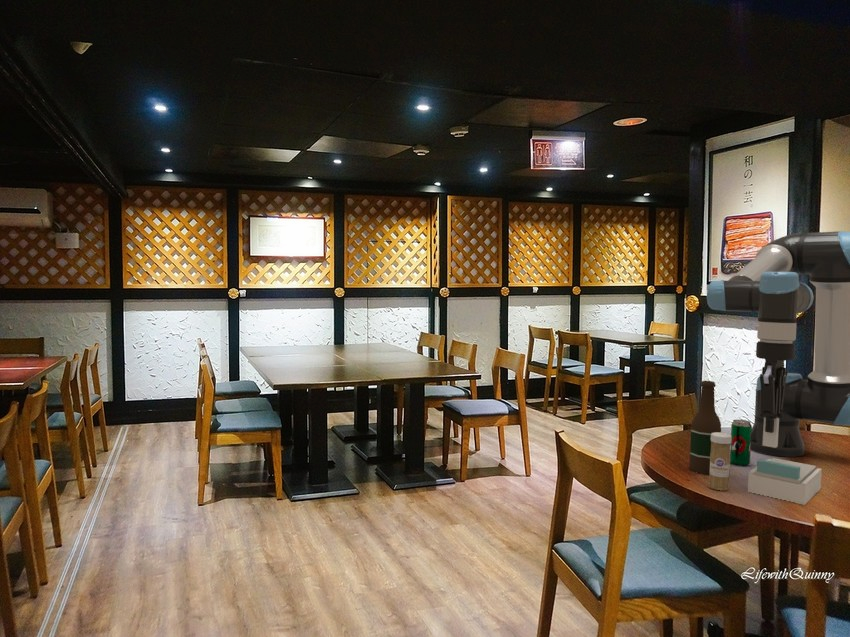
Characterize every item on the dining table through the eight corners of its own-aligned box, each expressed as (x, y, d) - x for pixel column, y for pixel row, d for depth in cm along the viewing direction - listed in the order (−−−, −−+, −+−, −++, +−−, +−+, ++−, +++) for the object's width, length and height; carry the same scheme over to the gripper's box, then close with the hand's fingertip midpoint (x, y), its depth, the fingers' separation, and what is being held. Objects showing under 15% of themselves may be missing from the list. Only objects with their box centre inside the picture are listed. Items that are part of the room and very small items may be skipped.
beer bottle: (725, 471, 168) (729, 382, 167) (712, 477, 163) (716, 385, 161) (696, 464, 174) (700, 378, 172) (683, 470, 169) (686, 380, 167)
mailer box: (767, 477, 163) (767, 458, 163) (820, 488, 155) (821, 469, 155) (747, 492, 152) (748, 472, 151) (804, 505, 144) (805, 483, 143)
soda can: (753, 466, 173) (755, 423, 172) (734, 466, 173) (736, 422, 172) (745, 461, 178) (747, 419, 177) (726, 460, 178) (728, 418, 177)
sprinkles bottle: (711, 490, 153) (713, 435, 152) (706, 484, 157) (708, 431, 156) (731, 492, 152) (734, 436, 151) (725, 485, 156) (728, 432, 155)
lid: (773, 460, 162) (773, 447, 162) (816, 469, 156) (816, 455, 156) (754, 474, 151) (754, 460, 150) (799, 483, 144) (800, 469, 144)
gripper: (765, 338, 148) (760, 438, 149) (748, 341, 138) (742, 447, 140) (802, 341, 143) (796, 444, 144) (786, 344, 133) (780, 454, 135)
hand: (770, 445), depth 142 cm, fingers closed
